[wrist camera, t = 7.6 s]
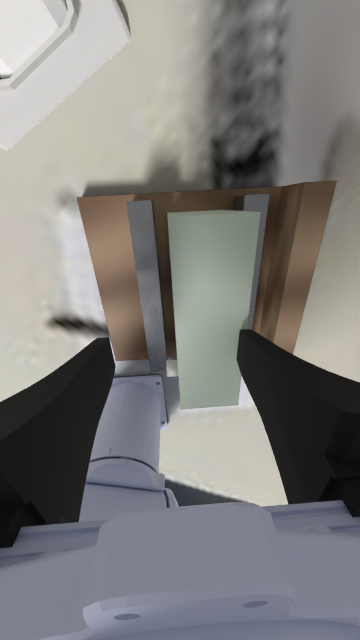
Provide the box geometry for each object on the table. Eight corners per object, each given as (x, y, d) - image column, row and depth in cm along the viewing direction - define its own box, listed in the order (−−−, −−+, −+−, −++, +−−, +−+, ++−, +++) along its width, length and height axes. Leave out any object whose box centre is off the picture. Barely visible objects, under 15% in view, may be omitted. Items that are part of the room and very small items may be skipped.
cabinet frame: (270, 344, 24) (289, 368, 20) (118, 355, 23) (109, 381, 20) (300, 186, 17) (336, 180, 13) (81, 197, 16) (57, 195, 13)
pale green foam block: (219, 209, 16) (260, 211, 9) (215, 340, 22) (237, 405, 15) (157, 213, 16) (148, 218, 9) (168, 344, 22) (169, 410, 15)
